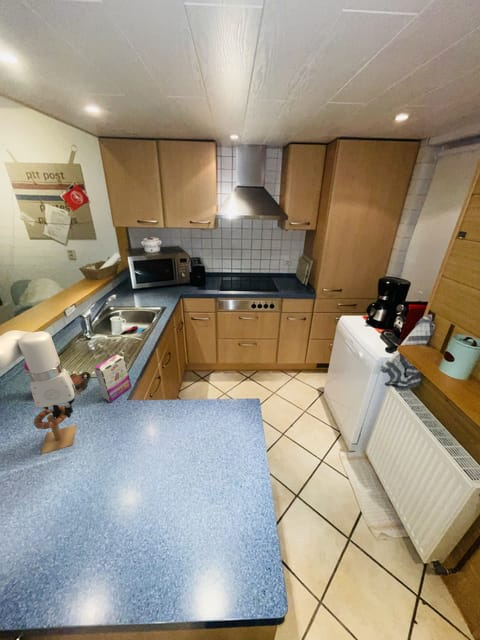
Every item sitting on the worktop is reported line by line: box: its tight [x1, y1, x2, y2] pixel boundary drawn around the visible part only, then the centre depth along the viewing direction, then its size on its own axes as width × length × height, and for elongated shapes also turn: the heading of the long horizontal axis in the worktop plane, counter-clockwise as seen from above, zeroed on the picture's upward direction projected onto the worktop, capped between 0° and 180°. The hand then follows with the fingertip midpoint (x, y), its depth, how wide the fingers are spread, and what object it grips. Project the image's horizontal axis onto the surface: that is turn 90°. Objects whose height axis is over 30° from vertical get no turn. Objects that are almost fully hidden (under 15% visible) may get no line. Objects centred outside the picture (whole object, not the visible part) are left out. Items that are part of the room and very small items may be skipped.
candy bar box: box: [93, 354, 132, 403], centre depth 106 cm, size 11×5×16 cm, turn 154°
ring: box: [33, 404, 68, 430], centre depth 82 cm, size 9×9×2 cm
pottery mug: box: [69, 371, 92, 393], centre depth 111 cm, size 12×10×8 cm
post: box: [39, 413, 77, 456], centre depth 84 cm, size 9×9×12 cm
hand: (64, 415), depth 84 cm, fingers closed on ring, 2 cm apart
